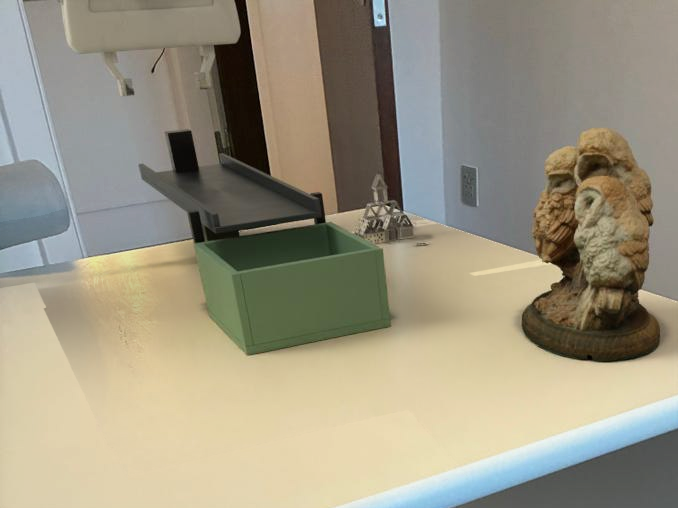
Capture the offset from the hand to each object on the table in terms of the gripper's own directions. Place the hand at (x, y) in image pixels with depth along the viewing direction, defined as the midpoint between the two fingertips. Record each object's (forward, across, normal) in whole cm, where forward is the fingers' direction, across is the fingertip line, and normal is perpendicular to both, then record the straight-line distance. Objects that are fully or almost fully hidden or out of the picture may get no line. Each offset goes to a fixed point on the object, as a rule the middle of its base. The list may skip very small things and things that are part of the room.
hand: (166, 92), depth 118 cm
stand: (+17, 0, -24) cm, 29 cm away
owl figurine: (+17, +22, -62) cm, 68 cm away
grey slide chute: (+9, 0, -18) cm, 20 cm away
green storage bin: (+17, 0, -42) cm, 46 cm away
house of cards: (+17, +20, -17) cm, 32 cm away
